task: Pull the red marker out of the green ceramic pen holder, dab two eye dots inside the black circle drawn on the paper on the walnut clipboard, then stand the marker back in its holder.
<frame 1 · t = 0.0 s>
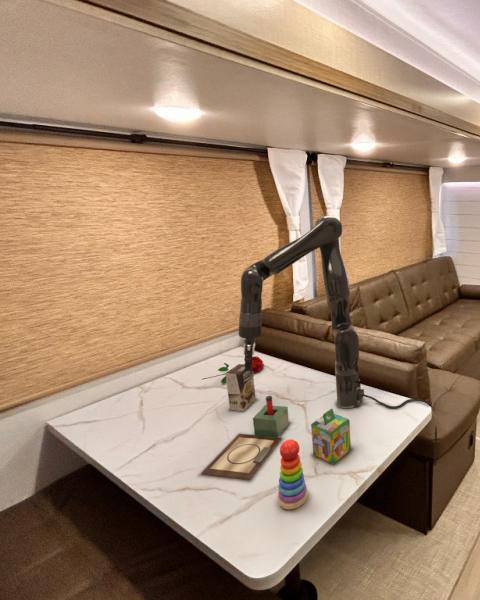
hand: (248, 365, 136), 22 cm above the table, tool pointing down, fingers open, 8 cm apart
coffee box: (243, 405, 152), on the table
stacking toy: (293, 500, 104), on the table
clipboard: (244, 455, 122), on the table
pen holder: (272, 429, 136), on the table
chalk box: (332, 452, 123), on the table
flower: (236, 378, 176), on the table
marker: (270, 413, 134), in the pen holder
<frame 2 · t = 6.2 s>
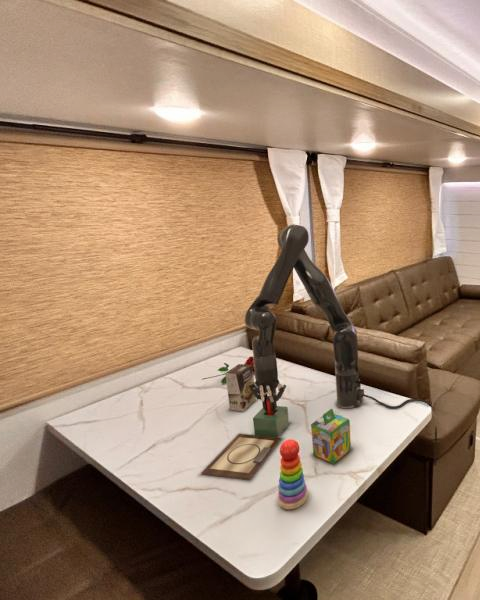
hand: (270, 409, 134), 8 cm above the table, tool pointing down, fingers closed on marker, 2 cm apart
marker: (270, 413, 134), in the pen holder, touching gripper
everything else where it was.
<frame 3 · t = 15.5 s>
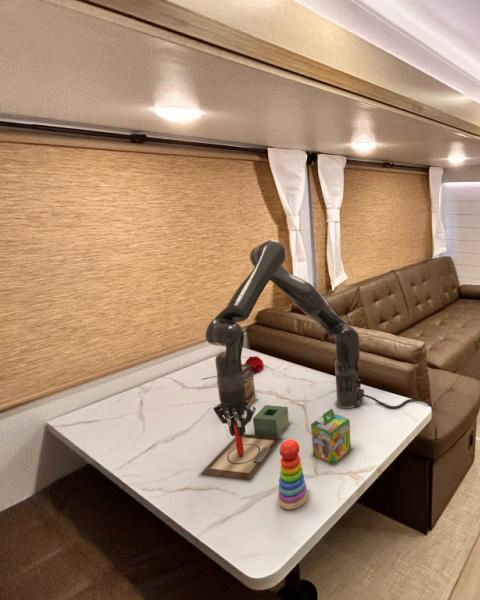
hand: (238, 434, 118), 9 cm above the table, tool pointing down, fingers closed on marker, 2 cm apart
marker: (238, 438, 118), point 7 cm above the table, touching clipboard, gripper
everything else where it was.
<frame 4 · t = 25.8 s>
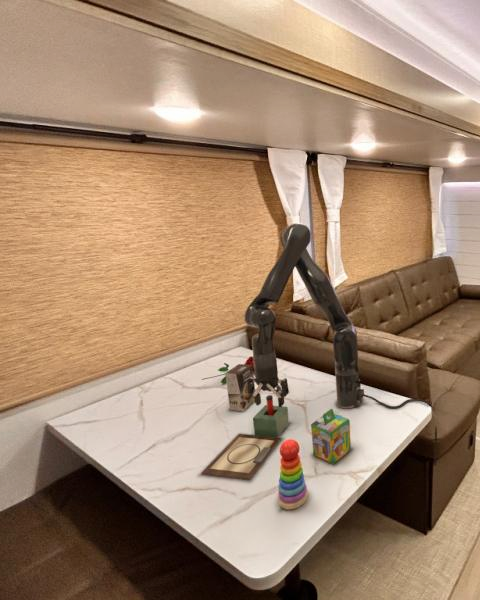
hand: (269, 405, 133), 10 cm above the table, tool pointing down, fingers open, 8 cm apart
marker: (270, 412, 134), in the pen holder
everything else where it was.
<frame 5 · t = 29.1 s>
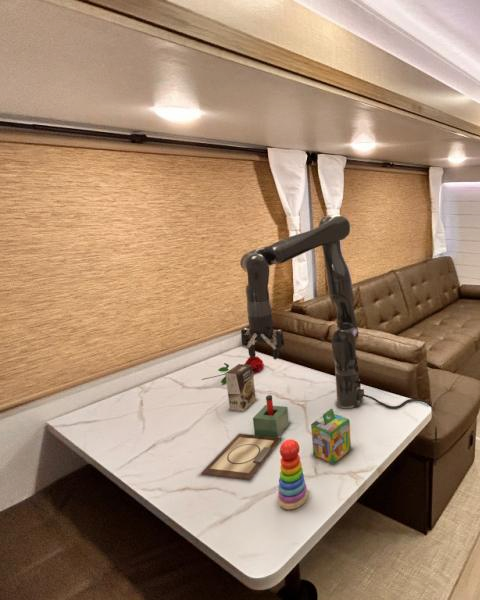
hand: (264, 357, 129), 28 cm above the table, tool pointing down, fingers open, 8 cm apart
nothing on the table moved.
at the end: marker 0.4 cm off-centre in the pen holder, point 6.5 cm above the pen holder's base; marker tilted 0°; the gripper is holding nothing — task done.
